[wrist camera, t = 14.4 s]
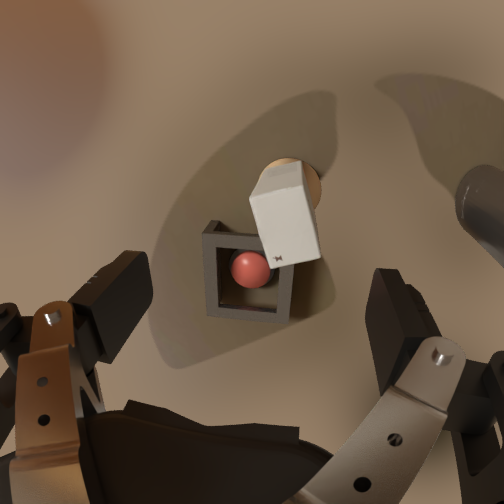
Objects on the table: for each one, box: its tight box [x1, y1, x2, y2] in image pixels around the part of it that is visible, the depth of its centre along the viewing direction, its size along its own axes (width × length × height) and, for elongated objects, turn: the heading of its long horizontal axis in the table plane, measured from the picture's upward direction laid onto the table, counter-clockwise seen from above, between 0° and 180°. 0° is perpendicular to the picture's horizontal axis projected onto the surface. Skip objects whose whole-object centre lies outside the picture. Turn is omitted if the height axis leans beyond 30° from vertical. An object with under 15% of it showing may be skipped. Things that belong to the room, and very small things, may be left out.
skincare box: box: [249, 161, 321, 269], centre depth 28 cm, size 6×4×12 cm
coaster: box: [258, 158, 321, 209], centre depth 34 cm, size 7×7×1 cm
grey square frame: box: [202, 220, 294, 324], centre depth 37 cm, size 10×11×4 cm
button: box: [229, 249, 275, 288], centre depth 38 cm, size 6×6×1 cm
